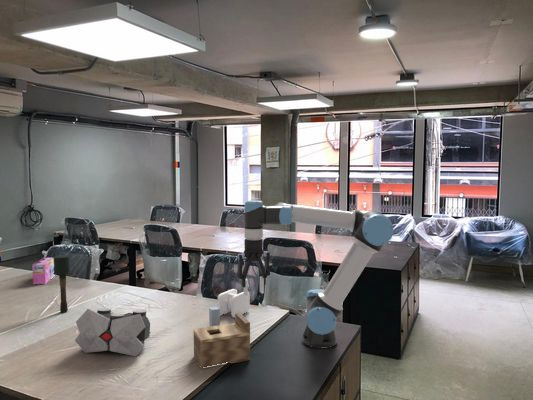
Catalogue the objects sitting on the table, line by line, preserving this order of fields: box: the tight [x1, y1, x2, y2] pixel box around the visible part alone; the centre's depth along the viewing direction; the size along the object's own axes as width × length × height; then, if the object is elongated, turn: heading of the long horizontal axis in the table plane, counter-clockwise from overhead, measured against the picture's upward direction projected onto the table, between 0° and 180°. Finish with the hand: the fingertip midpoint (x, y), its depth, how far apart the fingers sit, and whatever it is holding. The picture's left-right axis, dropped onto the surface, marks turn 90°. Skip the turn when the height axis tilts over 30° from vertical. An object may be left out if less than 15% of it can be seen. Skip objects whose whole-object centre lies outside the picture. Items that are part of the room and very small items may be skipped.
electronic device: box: [74, 307, 151, 357], centre depth 178 cm, size 18×21×30 cm
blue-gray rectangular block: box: [208, 306, 221, 327], centre depth 183 cm, size 4×4×16 cm
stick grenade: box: [53, 254, 72, 314], centre depth 223 cm, size 8×9×30 cm
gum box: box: [31, 256, 55, 285], centre depth 286 cm, size 24×8×14 cm, turn 9°
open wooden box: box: [193, 332, 251, 369], centre depth 170 cm, size 20×12×10 cm, turn 113°
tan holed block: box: [193, 313, 251, 343], centre depth 170 cm, size 20×12×5 cm, turn 113°
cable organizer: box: [217, 288, 251, 318], centre depth 221 cm, size 15×11×12 cm
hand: (253, 293), depth 174 cm, fingers open, 6 cm apart
